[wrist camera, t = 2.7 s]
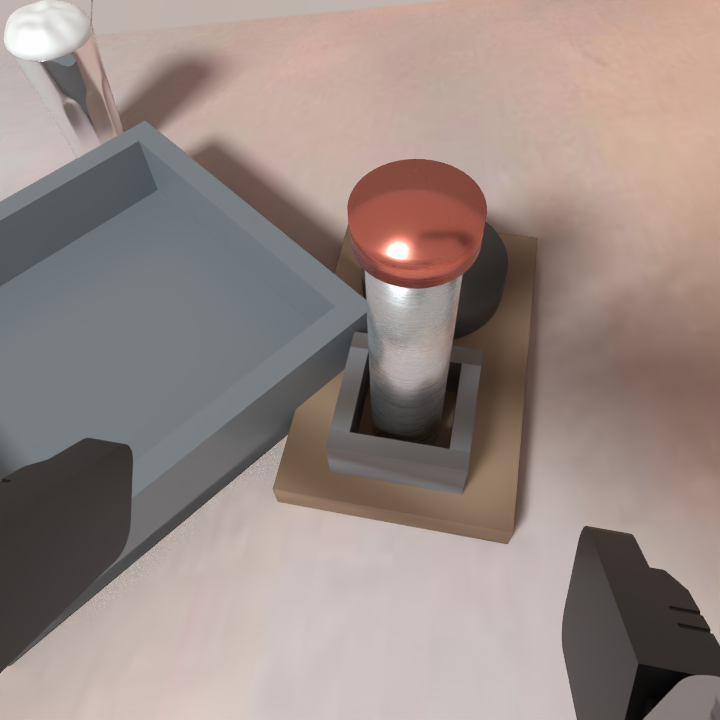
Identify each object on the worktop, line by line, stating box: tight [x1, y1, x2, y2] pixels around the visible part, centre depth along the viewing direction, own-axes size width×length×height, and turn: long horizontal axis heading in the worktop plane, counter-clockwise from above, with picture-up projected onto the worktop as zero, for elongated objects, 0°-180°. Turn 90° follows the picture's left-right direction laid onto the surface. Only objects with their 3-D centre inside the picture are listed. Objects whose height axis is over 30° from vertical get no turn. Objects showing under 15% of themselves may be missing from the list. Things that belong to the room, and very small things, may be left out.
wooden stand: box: [273, 222, 537, 544], centre depth 31 cm, size 16×10×4 cm, turn 169°
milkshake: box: [4, 0, 124, 158], centre depth 38 cm, size 5×5×10 cm
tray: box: [0, 120, 368, 666], centre depth 31 cm, size 20×18×4 cm
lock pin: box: [348, 159, 487, 446], centre depth 24 cm, size 4×4×13 cm
